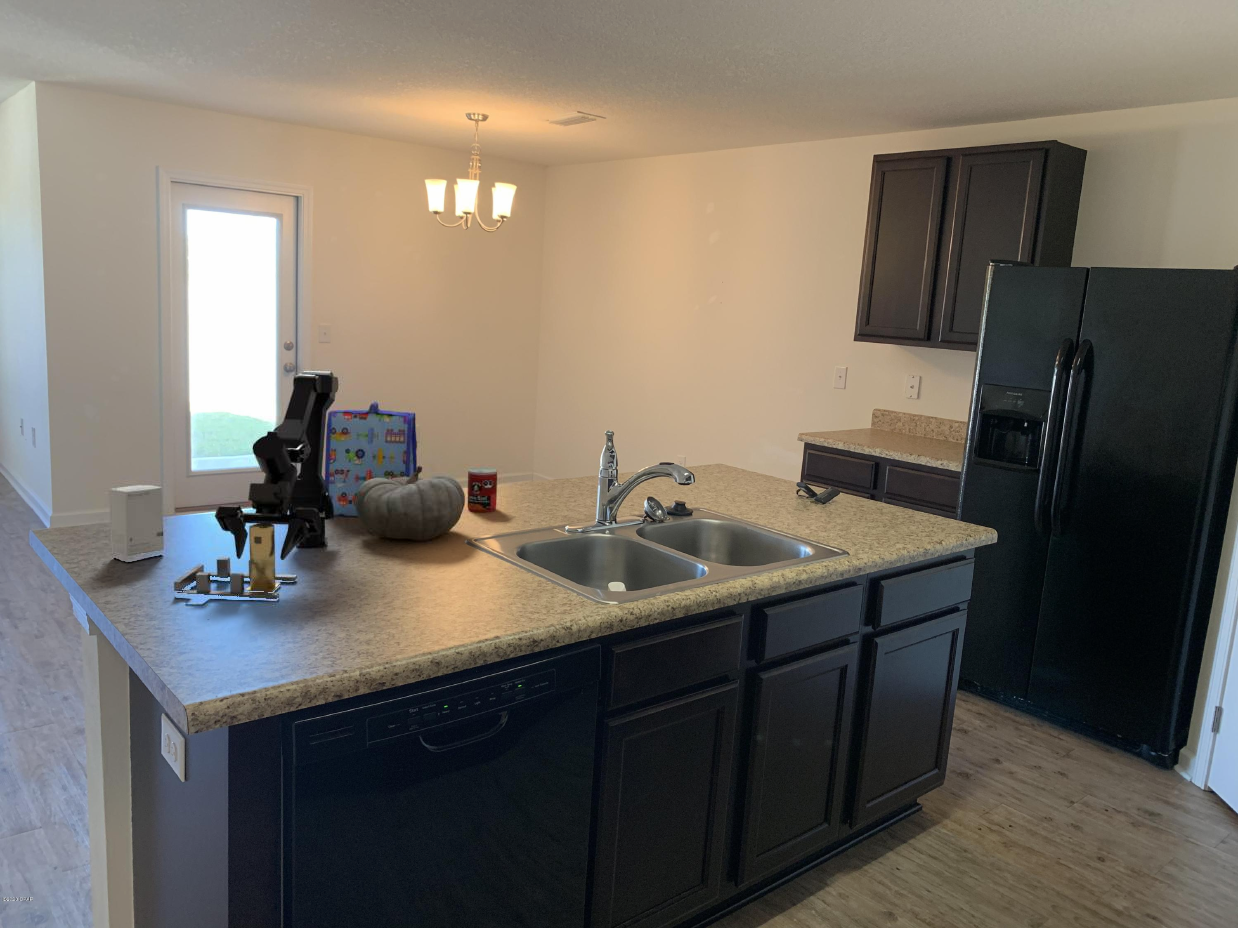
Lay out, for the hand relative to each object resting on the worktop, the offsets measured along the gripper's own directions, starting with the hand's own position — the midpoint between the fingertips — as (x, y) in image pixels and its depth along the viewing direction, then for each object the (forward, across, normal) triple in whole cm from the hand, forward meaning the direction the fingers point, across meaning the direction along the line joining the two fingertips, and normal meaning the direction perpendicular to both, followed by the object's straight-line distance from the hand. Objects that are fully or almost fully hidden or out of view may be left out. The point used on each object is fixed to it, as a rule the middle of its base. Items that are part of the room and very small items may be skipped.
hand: (260, 558), depth 166 cm
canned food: (-47, +34, +57) cm, 82 cm away
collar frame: (+5, -5, +5) cm, 8 cm away
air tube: (+4, 0, +6) cm, 7 cm away
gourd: (-27, +20, +36) cm, 49 cm away
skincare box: (-10, -32, +19) cm, 38 cm away
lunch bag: (-42, +6, +52) cm, 67 cm away
